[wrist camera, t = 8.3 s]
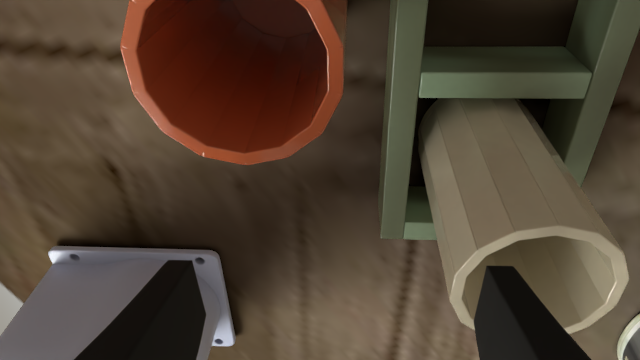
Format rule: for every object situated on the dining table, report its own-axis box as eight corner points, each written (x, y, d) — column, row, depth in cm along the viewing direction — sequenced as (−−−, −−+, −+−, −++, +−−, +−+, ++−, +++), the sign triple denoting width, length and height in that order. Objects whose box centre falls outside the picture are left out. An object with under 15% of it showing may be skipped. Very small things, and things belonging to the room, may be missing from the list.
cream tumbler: (412, 177, 22) (441, 340, 15) (423, 81, 19) (465, 223, 12) (515, 179, 22) (596, 346, 14) (540, 81, 19) (657, 227, 12)
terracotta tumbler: (230, 41, 19) (151, 164, 12) (212, -97, 16) (92, -51, 9) (347, 41, 19) (342, 167, 11) (349, -99, 16) (344, -55, 8)
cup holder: (378, 201, 23) (380, 239, 21) (400, -168, 15) (409, -171, 12) (541, 205, 23) (561, 243, 20) (661, -176, 14) (717, -181, 12)
